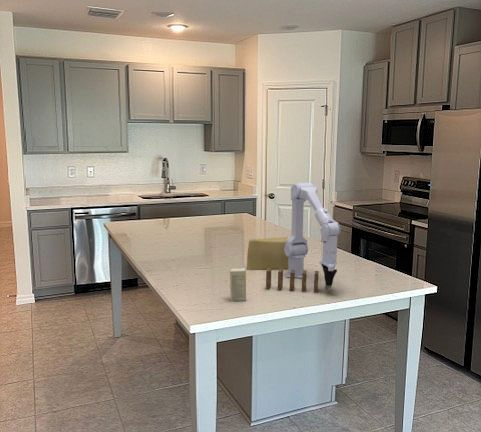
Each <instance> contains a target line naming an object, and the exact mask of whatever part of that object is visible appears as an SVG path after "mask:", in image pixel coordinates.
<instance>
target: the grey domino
mask: <svg viewBox="0 0 481 432" xmlns="http://www.w3.org/2000/svg"><path fill="white" fill-rule="evenodd" d="M324 283H325V285H324V288H325V291H330V289H331V288H332V286H327V285H326V280H325V279H324Z"/></svg>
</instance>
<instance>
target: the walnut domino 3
mask: <svg viewBox="0 0 481 432" xmlns="http://www.w3.org/2000/svg"><path fill="white" fill-rule="evenodd" d="M295 279H296V278H295V270H292V269H291V272H290V277H289V292H294V291H295Z"/></svg>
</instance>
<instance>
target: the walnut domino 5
mask: <svg viewBox="0 0 481 432" xmlns="http://www.w3.org/2000/svg"><path fill="white" fill-rule="evenodd" d="M313 274H314V277H313V278H314V280H313V294H314V293H315V294H318V293H319V277H320V276H319V274H320V272H319V270H314V273H313Z"/></svg>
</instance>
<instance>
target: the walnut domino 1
mask: <svg viewBox="0 0 481 432" xmlns="http://www.w3.org/2000/svg"><path fill="white" fill-rule="evenodd" d="M271 288H272V270H271V268H268V269H267V270H266V271H265V290H266V291H267V290H268V291H270V290H271Z"/></svg>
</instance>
